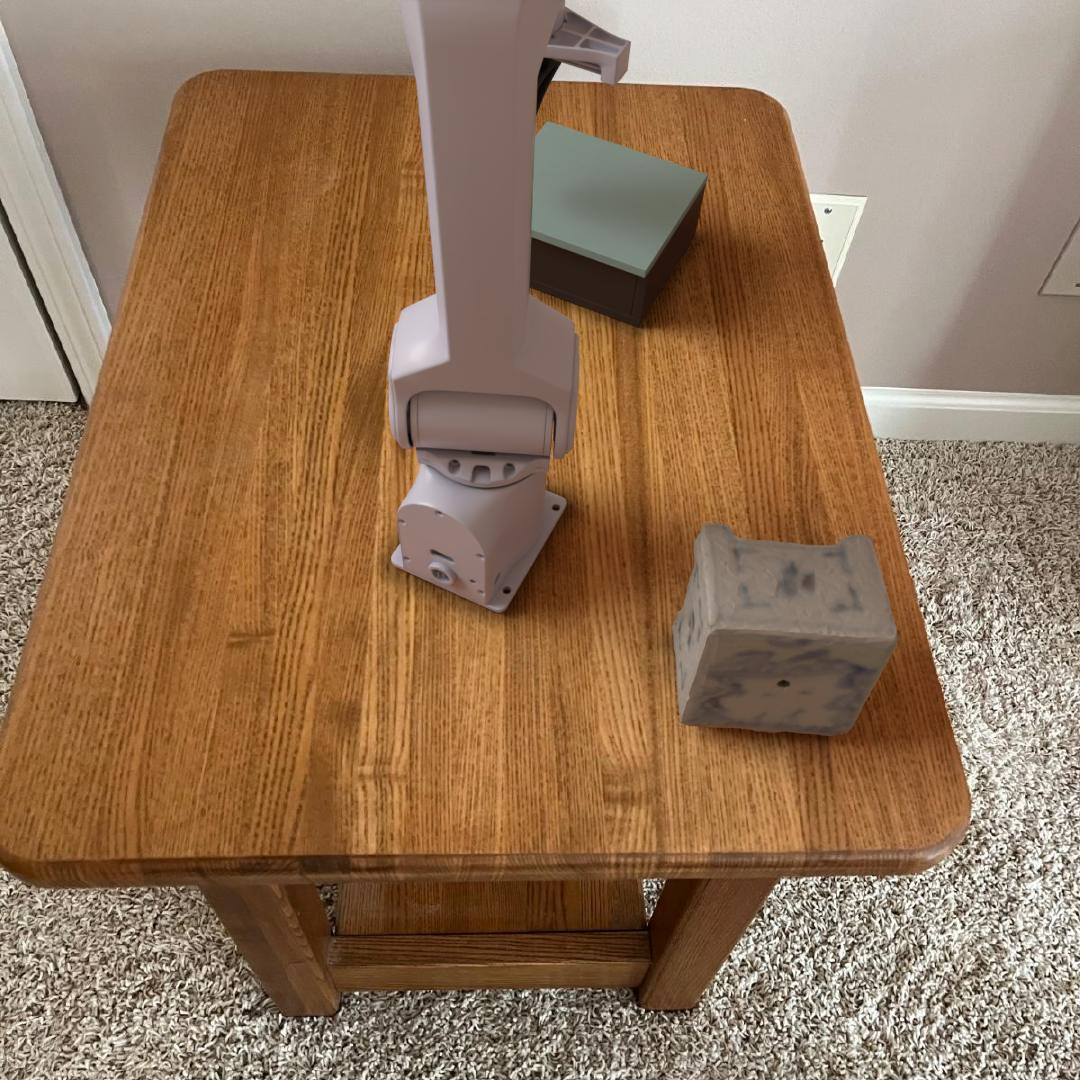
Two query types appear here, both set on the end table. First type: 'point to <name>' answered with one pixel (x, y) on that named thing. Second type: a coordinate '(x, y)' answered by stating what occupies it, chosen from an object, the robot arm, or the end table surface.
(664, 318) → the end table surface
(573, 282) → the case
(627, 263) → the lid
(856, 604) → the incense holder
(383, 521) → the end table surface
